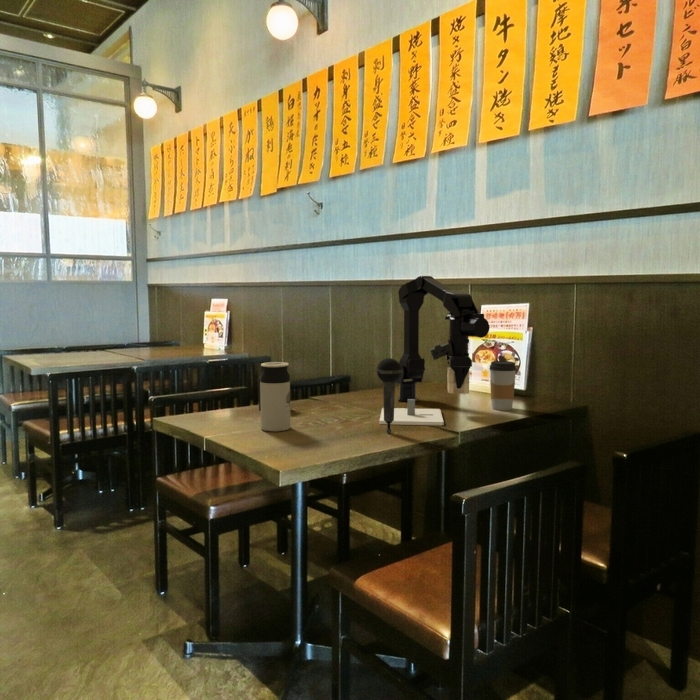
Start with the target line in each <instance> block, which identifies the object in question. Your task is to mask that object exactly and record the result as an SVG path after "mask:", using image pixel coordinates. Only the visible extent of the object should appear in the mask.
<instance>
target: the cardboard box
mask: <svg viewBox="0 0 700 700" xmlns="http://www.w3.org/2000/svg"><path fill="white" fill-rule="evenodd" d="M446 375H447V381H446V382H447V383H446V385H447V387H446V388H447V389H446V390H447V393H448V394H459V395H460V394H462V395H463V394H464V395H465V394H468V395H469V394H470V370H469V371H468V373H467V375H466V378H465V380H464V382H463V384H462V387H461V388H460V389H459V388H457V385H456V379H455V373H454V371H453V370H452V369H451V368H450V367H447V374H446Z"/></svg>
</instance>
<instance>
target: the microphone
mask: <svg viewBox="0 0 700 700" xmlns="http://www.w3.org/2000/svg"><path fill="white" fill-rule="evenodd" d="M375 372H376V375H377V376H378V378H379V380H380V381H382V393H383V395H382V396H383V400H382V401H383V408H384V421H386V423H388V424H387V428H386V433H387V434H391V433H392V429H391V424H390V423H392V421H394V408H395V399H396V397H395V394H396V383H395V381H397V380H398V379H399V378H400V376H401V373H402V369H401V366H400V364H399V362H398V361H397V360H396V359H395V358H391V357H389V358H388V357H386V358H383V359H382V360H381V361H379V363H378V364H377V366H376V369H375Z"/></svg>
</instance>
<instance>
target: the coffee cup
mask: <svg viewBox="0 0 700 700" xmlns="http://www.w3.org/2000/svg"><path fill="white" fill-rule="evenodd" d="M516 371H517V366H516V362H514V361H508V360H494V361H491V362H490V364H489V377H490V379H489V381H490V382H489V383H490V385H489V386H490V400H491V408H492V410H494V411H503V412H507V411H511V410H512V409H513V405H514V404H513V403H514V397H515V385H516Z"/></svg>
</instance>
